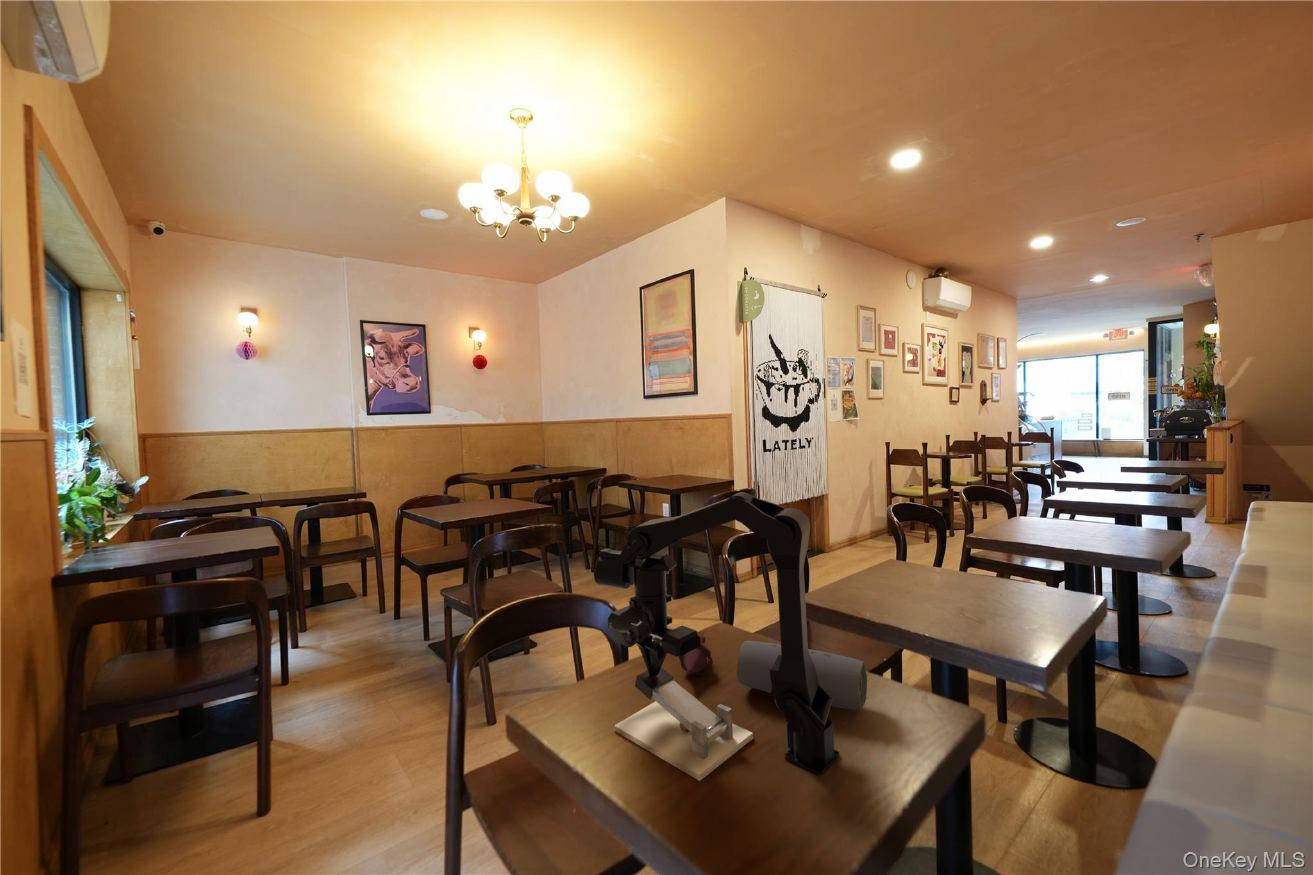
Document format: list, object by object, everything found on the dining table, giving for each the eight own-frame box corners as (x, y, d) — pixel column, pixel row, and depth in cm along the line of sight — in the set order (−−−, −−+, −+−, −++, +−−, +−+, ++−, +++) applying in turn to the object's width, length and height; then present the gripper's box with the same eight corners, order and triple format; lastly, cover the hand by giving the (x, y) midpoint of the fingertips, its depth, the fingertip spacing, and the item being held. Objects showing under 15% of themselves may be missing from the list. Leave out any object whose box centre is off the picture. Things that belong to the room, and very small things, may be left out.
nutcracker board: (753, 738, 93) (751, 704, 93) (699, 780, 83) (697, 743, 83) (668, 698, 107) (667, 669, 107) (614, 730, 98) (612, 698, 97)
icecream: (711, 661, 109) (720, 636, 123) (675, 649, 110) (689, 626, 125) (703, 694, 109) (713, 666, 123) (668, 682, 111) (682, 655, 125)
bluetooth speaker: (868, 701, 103) (866, 649, 102) (860, 727, 95) (858, 671, 94) (753, 677, 114) (751, 630, 114) (737, 699, 106) (734, 648, 106)
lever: (726, 732, 92) (728, 721, 91) (704, 748, 88) (707, 736, 87) (656, 674, 103) (658, 664, 103) (634, 686, 99) (636, 676, 99)
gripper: (583, 591, 99) (587, 674, 100) (655, 618, 86) (658, 713, 87) (628, 576, 107) (631, 653, 108) (701, 598, 94) (703, 685, 95)
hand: (653, 674), depth 99 cm, fingers closed
